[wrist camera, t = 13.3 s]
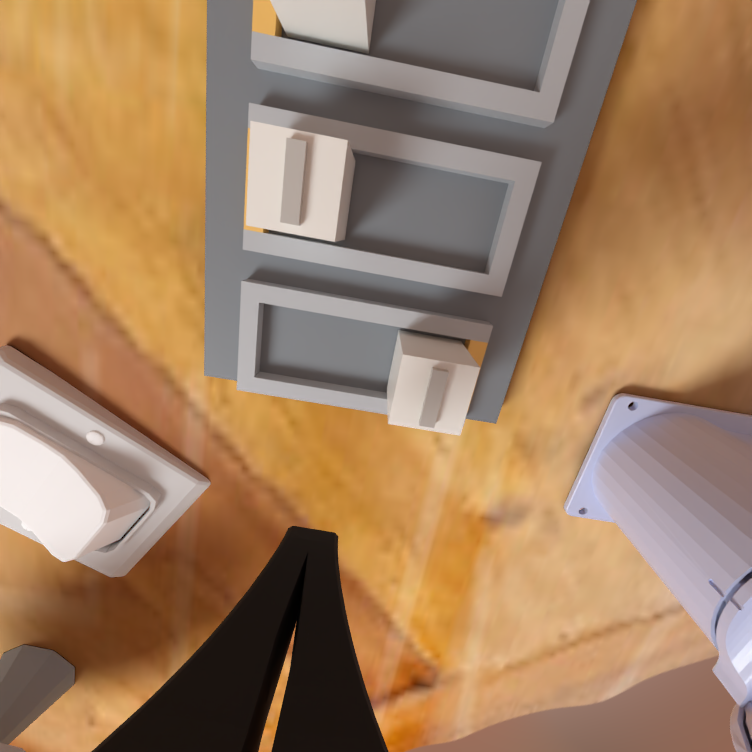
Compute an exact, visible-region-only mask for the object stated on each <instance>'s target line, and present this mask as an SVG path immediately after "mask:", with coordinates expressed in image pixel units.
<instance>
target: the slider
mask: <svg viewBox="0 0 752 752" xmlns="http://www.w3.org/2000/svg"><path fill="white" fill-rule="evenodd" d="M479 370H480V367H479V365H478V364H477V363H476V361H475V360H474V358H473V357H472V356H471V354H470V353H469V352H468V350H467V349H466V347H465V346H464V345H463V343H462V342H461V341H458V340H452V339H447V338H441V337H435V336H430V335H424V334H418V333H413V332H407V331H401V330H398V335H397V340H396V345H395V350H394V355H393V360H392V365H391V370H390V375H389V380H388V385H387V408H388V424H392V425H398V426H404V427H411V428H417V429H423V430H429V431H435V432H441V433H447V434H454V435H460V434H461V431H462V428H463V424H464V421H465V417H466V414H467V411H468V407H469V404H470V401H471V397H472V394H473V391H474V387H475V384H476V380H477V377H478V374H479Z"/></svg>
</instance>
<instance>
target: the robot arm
mask: <svg viewBox="0 0 752 752" xmlns="http://www.w3.org/2000/svg"><path fill="white" fill-rule="evenodd" d="M631 402H634V403H633V405H632V406H630V407H628V405H629V404H630V403H631ZM581 508H583V509H581ZM580 509H581V510H580ZM564 510H565V511H566V513H567V514H568V515H570V516H575V517H582V518H588V519H595V520H601V521H608V522H614V523H616V524H617V525H618V527H619V528H620V529H621V530H622V532H623V533H624V534H625V535H626V537H627V538H628V539H629V540H630V542H631V543H632V544H633V545H634V547H635V548H636V549H637V550H638V552H639V553H640V554H641V555H642V557H643V558H644V559H645V560H646V562H647V563H648V564H649V565H650V567H651V568H652V569H653V570H654V572H655V573H656V574H657V575H658V576H659V578H660V579H661V580H662V581H663V583H664V584H665V585H666V586H667V588H668V589H669V590H670V591H671V593H672V594H673V595H674V596H675V598H676V599H677V600H678V601H679V603H680V604H681V605H682V606H683V608H684V609H685V610H686V611H687V613H688V614H689V615H690V616H691V618H692V619H693V620H694V621H695V623H696V624H697V625H698V626H699V628H700V629H701V630H702V631H703V632H704V634H705V635H706V636H707V637H708V639H709V640H710V641H711V642H712V644H713V645H714V646H715V647H716V649H717V650H718V651H719V658H718V661H717V663H716V664H715V666H714V667H713V672H714V673H715V675H716V676H717V677H718V679H719V680H720V681H721V683H722V684H723V685H724V687H725V688H726V689H727V691H728V692H729V693H730V695H731V696H732V697H733V698H734V700H735V701H736V703H737V704H736V705H735V706H734V708H733V711H732V714H731V717H730V731H731V736H732V740H733V744H734V747H735V750H736V752H752V415H747V414H741V413H735V412H730V411H724V410H718V409H712V408H707V407H701V406H695V405H689V404H683V403H678V402H672V401H666V400H660V399H654V398H649V397H643V396H637V395H631V394H625V393H620V394H617V395H615V396H614V397H613V398H612V400H611V402H610V404H609V406H608V408H607V411H606V413H605V415H604V417H603V420H602V422H601V424H600V426H599V429H598V431H597V433H596V435H595V437H594V440H593V442H592V444H591V446H590V449H589V451H588V453H587V455H586V457H585V460H584V462H583V464H582V466H581V469H580V471H579V473H578V475H577V477H576V480H575V482H574V484H573V486H572V489H571V491H570V493H569V495H568V497H567V500H566V502H565V504H564ZM296 621H297V622H296ZM295 625H296V630H295V637H294V644H293V651H292V659H291V666H290V672H289V677H288V681H287V686H286V690H285V695H284V699H283V704H282V708H281V712H280V717H279V721H278V726H277V730H276V734H275V739H274V743H273V748H272V752H388V749H387V747H386V744H385V741H384V739H383V736H382V734H381V731H380V728H379V726H378V723H377V720H376V718H375V715H374V712H373V709H372V706H371V703H370V700H369V697H368V694H367V691H366V688H365V684H364V681H363V678H362V674H361V671H360V668H359V664H358V661H357V657H356V653H355V649H354V646H353V641H352V637H351V633H350V629H349V625H348V620H347V615H346V611H345V605H344V599H343V594H342V588H341V581H340V573H339V564H338V536H337V535H336V533H333V532H327V531H321V530H315V529H309V528H303V527H297V526H292V527H290V528H288V530H287V532H286V534H285V536H284V538H283V540H282V541H281V543H280V545H279V547H278V548H277V550H276V551H275V553H274V555H273V556H272V558H271V559H270V561H269V562H268V564H267V565H266V566H265V568H264V569H263V571H262V572H261V573H260V575H259V576H258V577H257V579H256V580H255V582H254V583H253V584H252V586H251V587H250V588H249V590H248V591H247V592H246V594H245V595H244V596H243V597H242V599H241V600H240V601H239V602H238V604H237V605H236V606H235V607H234V608H233V610H232V611H231V612H230V613H229V615H228V616H227V617H226V618H225V620H224V621H223V622H222V623H221V624H220V625H219V627H218V628H217V629H216V630H215V631H214V632H213V633H212V635H211V636H210V637H209V638H208V639H207V640H206V641H205V642H204V643H203V645H202V646H201V647H200V648H199V649H198V650H197V651H196V652H195V653H194V654H193V655H192V656H191V658H190V659H189V660H188V661H187V662H186V663H185V664H184V665H183V666H182V667H181V668H180V669H179V670H178V671H177V672H176V673H175V674H174V675H173V676H172V677H171V678H170V679H169V680H168V681H167V682H166V683H165V684H164V685H163V686H162V687H161V688H160V689H159V690H158V691H157V692H156V693H155V694H154V695H153V696H152V697H151V698H150V699H149V700H148V701H147V702H146V703H144V704H143V705H142V706H141V707H140V708H139V709H138V710H137V711H136V712H135V713H134V714H133V715H131V716H130V717H129V718H128V719H127V720H126V721H125V722H124V723H123V724H122V725H120V726H119V727H118V728H117V729H116V730H115V731H114V732H113V733H112V734H111V735H109V736H108V737H107V738H106V739H105V740H104V741H103V742H102V743H101V744H99V745H98V746H97V747H96V748H95V749H94V750H93V751H92V752H258V750H259V746H260V742H261V738H262V734H263V731H264V727H265V723H266V720H267V716H268V713H269V710H270V706H271V703H272V700H273V696H274V693H275V690H276V687H277V683H278V680H279V677H280V674H281V670H282V667H283V664H284V661H285V657H286V654H287V651H288V648H289V644H290V641H291V638H292V634H293V631H294V628H295Z"/></svg>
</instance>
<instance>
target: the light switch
mask: <svg viewBox="0 0 752 752" xmlns="http://www.w3.org/2000/svg"><path fill="white" fill-rule="evenodd" d="M210 484H211V482H210V481H209V480H208V479H207V478H206V477H205V476H203V475H202V474H200V473H199V472H197V471H196V470H194V469H193V468H191V467H190V466H188V465H187V464H186V463H184V462H183V461H181V460H180V459H178V458H177V457H175V456H174V455H172V454H171V453H169V452H168V451H167V450H165V449H164V448H162V447H161V446H159V445H158V444H156V443H155V442H153V441H152V440H150V439H149V438H148V437H146V436H145V435H143V434H142V433H140V432H139V431H137V430H136V429H134V428H133V427H132V426H130V425H129V424H127V423H126V422H124V421H123V420H121V419H120V418H118V417H117V416H115V415H114V414H113V413H111V412H110V411H108V410H107V409H105V408H104V407H102V406H101V405H99V404H98V403H96V402H95V401H94V400H92V399H91V398H89V397H88V396H86V395H85V394H83V393H82V392H80V391H79V390H77V389H76V388H75V387H73V386H72V385H70V384H69V383H67V382H66V381H64V380H63V379H61V378H60V377H58V376H57V375H56V374H54V373H52V372H51V371H49V370H48V369H46V368H45V367H43V366H41V365H40V364H38V363H37V362H35V361H33V360H32V359H30V358H29V357H27V356H25V355H24V354H22V353H21V352H19V351H17V350H16V349H14V348H13V347H11V346H8V345H5V346H2V347H0V524H2V525H4V526H6V527H8V528H10V529H12V530H14V531H16V532H18V533H20V534H22V535H24V536H26V537H28V538H30V539H32V540H35V541H37V542H39V543H41V544H43V545H44V546H45V547H46V548H47V550H48V551H49V552H50V553H51V554H52V555H53V556H55V557H56V558H58V559H59V560H61V561H62V562H67V561H70V560H76V561H78V562H80V563H82V564H84V565H86V566H88V567H90V568H92V569H94V570H96V571H98V572H100V573H102V574H104V575H106V576H108V577H122V576H125V575H126V574H127V573H128V572H129V571H130V570H131V569H132V568H133V567H134V566H135V565H136V564H137V562H138V561H139V560H140V559H141V558H142V557H143V556H144V555H145V554H146V553H147V552H148V551H149V550H150V549H151V548H152V546H153V545H154V544H155V543H156V542H157V541H158V540H159V539H160V538H161V537H162V536H163V535H164V534H165V533H166V532H167V531H168V529H169V528H170V527H171V526H172V525H173V524H174V523H175V522H176V521H177V520H178V519H179V518H180V517H181V516H182V515H183V513H184V512H185V511H186V510H187V509H188V508H189V507H190V506H191V505H192V504H193V503H194V502H195V501H196V500H197V499H198V497H199V496H200V495H201V494H202V493H203V492H204V491H205V490H206V489H207V488H208V487H209V486H210ZM150 502H151V503H150ZM149 506H150V509H149V510H148V511H147V512H146V513H145V514H144V515H143V517H142V518H141V519H140V520H139V521H138V522H137V523H136V524H135V525H134V527H133V528H132V529H131V530H130V531H129V532H128V533H127V534H126V536H125V537H124V538H123V539H122V540H120V539H121V538H122V537H123V536H124V534H125V533H126V532H127V531H128V530H129V529H130V528H131V527H132V525H133V524H134V523H135V522H136V521H137V520H138V519H139V518H140V516H141V515H142V514H143V513H144V512H145V511H146V510H147V509H148V507H149ZM117 540H120V541H118V542H115V541H117ZM113 542H115V543H113Z"/></svg>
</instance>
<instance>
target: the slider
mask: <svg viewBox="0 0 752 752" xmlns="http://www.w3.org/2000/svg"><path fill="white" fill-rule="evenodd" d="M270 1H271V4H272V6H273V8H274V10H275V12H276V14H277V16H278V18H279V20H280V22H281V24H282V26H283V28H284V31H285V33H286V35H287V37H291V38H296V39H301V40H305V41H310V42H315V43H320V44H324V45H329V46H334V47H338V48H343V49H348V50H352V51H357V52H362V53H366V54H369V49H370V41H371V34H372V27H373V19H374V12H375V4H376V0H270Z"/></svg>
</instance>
